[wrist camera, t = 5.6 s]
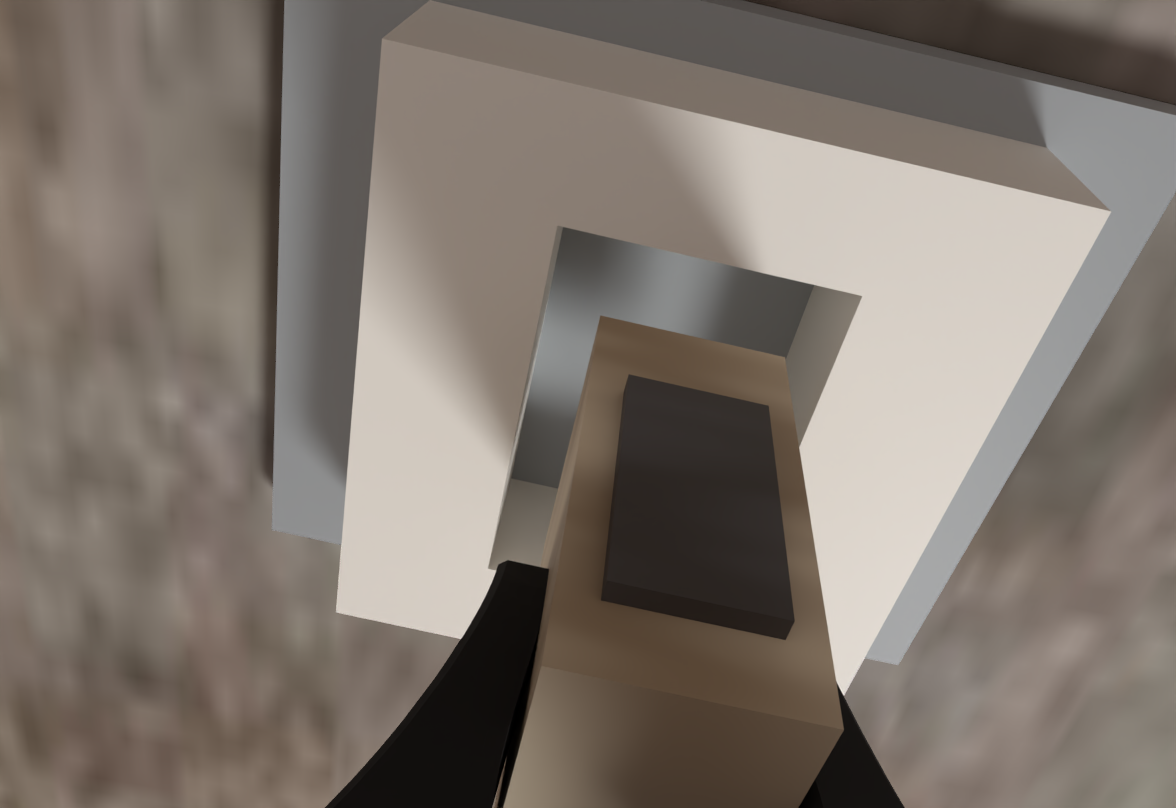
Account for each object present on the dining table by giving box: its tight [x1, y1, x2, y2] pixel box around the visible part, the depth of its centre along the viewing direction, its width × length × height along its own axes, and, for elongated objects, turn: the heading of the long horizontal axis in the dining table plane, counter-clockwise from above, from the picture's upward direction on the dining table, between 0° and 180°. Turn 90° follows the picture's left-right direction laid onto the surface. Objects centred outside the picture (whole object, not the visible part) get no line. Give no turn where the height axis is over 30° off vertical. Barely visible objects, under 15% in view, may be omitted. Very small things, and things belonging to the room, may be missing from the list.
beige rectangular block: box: [494, 315, 844, 808], centre depth 13 cm, size 3×5×7 cm, turn 168°
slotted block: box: [272, 0, 1176, 696], centre depth 19 cm, size 16×14×4 cm
